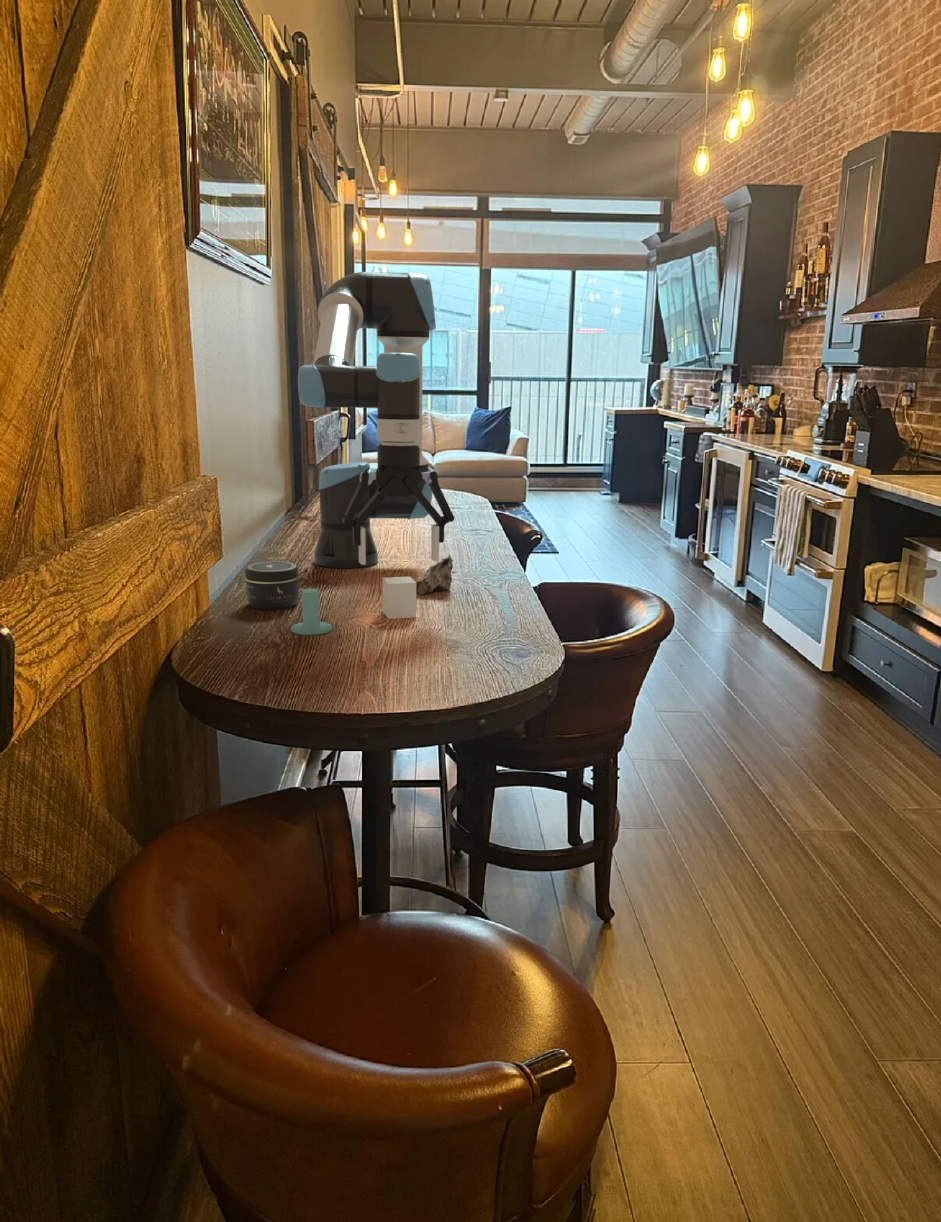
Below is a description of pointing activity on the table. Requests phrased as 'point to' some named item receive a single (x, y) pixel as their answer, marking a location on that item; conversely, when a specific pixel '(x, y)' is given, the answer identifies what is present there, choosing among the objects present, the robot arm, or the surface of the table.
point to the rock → (436, 577)
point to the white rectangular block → (399, 597)
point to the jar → (272, 585)
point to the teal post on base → (311, 615)
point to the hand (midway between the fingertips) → (399, 561)
